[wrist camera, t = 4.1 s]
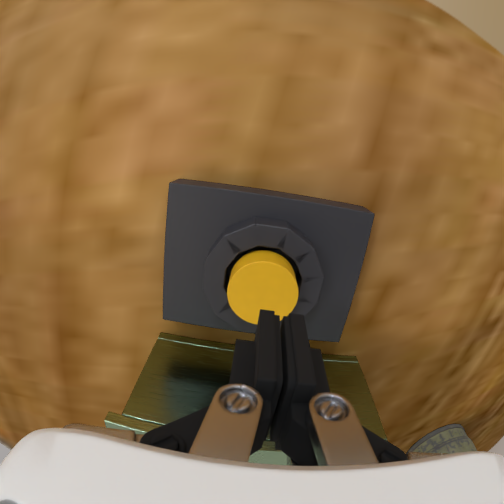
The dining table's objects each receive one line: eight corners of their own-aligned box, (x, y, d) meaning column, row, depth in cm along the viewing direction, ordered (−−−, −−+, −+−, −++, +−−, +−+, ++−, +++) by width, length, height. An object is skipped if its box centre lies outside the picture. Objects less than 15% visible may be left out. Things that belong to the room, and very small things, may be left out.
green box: (165, 434, 27) (146, 502, 19) (160, 332, 23) (121, 413, 15) (313, 450, 28) (321, 518, 19) (356, 356, 23) (387, 439, 15)
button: (226, 304, 18) (223, 320, 16) (234, 245, 17) (231, 256, 15) (288, 312, 18) (291, 329, 16) (300, 254, 17) (305, 267, 15)
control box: (170, 303, 22) (155, 334, 18) (178, 178, 19) (159, 186, 15) (332, 325, 22) (344, 358, 18) (363, 206, 19) (386, 221, 15)
